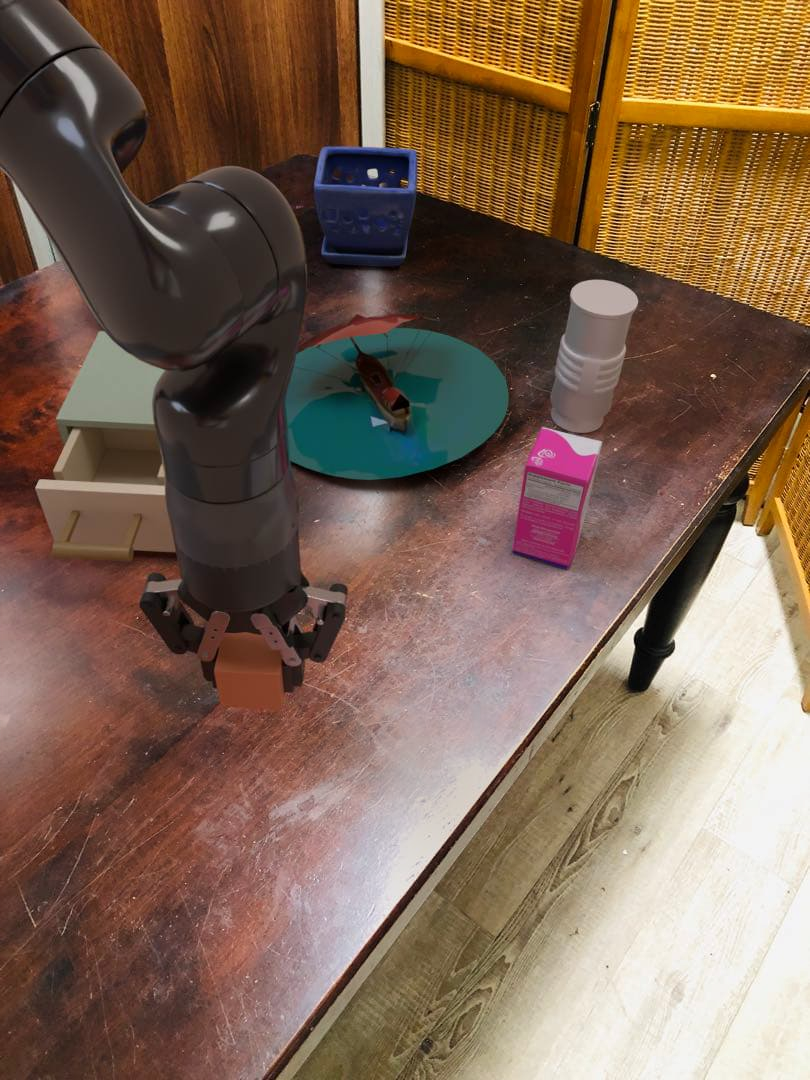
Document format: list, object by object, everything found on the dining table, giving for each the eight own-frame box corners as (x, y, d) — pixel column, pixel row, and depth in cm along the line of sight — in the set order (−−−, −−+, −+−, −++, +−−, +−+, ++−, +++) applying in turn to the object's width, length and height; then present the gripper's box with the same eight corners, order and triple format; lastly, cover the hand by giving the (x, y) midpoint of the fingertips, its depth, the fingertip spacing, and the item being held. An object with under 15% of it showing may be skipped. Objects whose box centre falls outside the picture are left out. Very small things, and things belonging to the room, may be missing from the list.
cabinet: (204, 498, 87) (192, 426, 81) (77, 491, 87) (55, 418, 81) (230, 407, 97) (221, 337, 91) (116, 401, 97) (99, 330, 91)
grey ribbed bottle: (544, 430, 97) (567, 311, 86) (548, 393, 101) (571, 275, 91) (607, 440, 96) (639, 320, 85) (608, 402, 101) (638, 284, 90)
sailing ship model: (444, 318, 112) (442, 235, 104) (554, 442, 93) (562, 352, 85) (230, 376, 105) (211, 292, 97) (302, 523, 86) (286, 432, 78)
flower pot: (313, 272, 118) (310, 185, 110) (323, 225, 127) (321, 142, 119) (412, 277, 118) (416, 191, 110) (415, 230, 128) (419, 147, 119)
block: (220, 706, 64) (213, 671, 60) (231, 656, 67) (225, 619, 64) (282, 710, 64) (279, 674, 61) (290, 659, 67) (287, 623, 64)
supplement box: (525, 514, 87) (542, 423, 79) (583, 531, 86) (607, 441, 78) (508, 553, 84) (524, 462, 75) (568, 572, 82) (592, 481, 74)
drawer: (166, 596, 77) (152, 538, 72) (37, 589, 77) (13, 531, 72) (207, 457, 90) (198, 399, 85) (96, 451, 90) (80, 393, 85)
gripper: (98, 557, 50) (147, 719, 62) (348, 571, 50) (348, 730, 63) (131, 469, 55) (170, 635, 68) (358, 482, 55) (356, 645, 68)
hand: (256, 680), depth 65 cm, fingers closed on block, 4 cm apart
